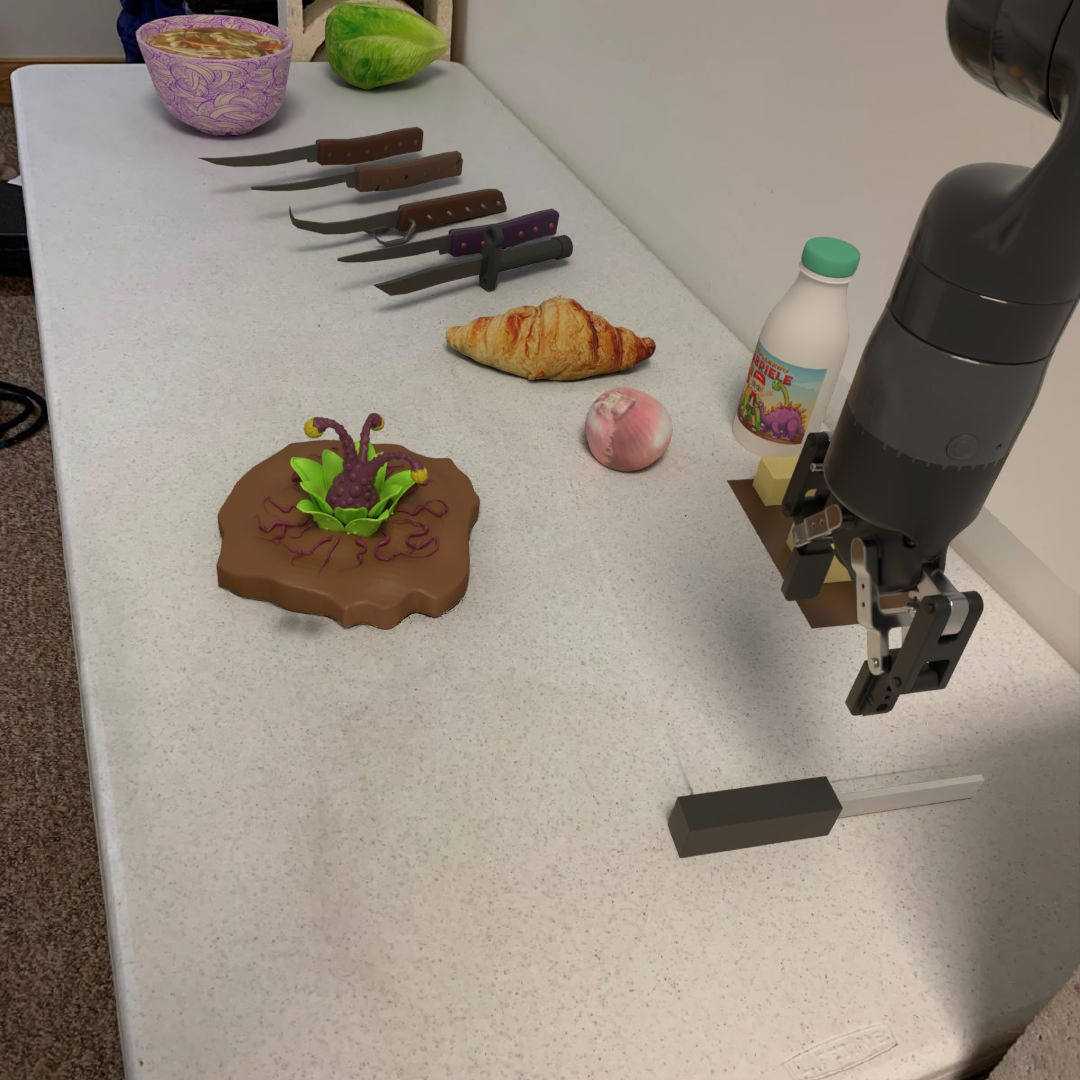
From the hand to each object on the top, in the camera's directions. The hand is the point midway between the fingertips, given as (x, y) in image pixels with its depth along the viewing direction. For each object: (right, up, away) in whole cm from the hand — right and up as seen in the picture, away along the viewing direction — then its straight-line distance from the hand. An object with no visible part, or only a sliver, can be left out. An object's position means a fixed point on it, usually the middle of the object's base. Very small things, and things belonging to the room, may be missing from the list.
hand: (829, 649), depth 56 cm
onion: (-9, +13, +34) cm, 38 cm away
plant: (-31, +6, +23) cm, 39 cm away
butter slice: (+7, +10, +32) cm, 34 cm away
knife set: (-33, +43, +64) cm, 84 cm away
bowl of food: (-60, +64, +83) cm, 121 cm away
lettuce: (-41, +79, +104) cm, 136 cm away
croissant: (-15, +24, +46) cm, 54 cm away
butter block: (+8, +5, +26) cm, 27 cm away
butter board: (+8, +5, +28) cm, 29 cm away
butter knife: (+2, -12, +8) cm, 14 cm away
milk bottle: (+6, +15, +39) cm, 42 cm away
